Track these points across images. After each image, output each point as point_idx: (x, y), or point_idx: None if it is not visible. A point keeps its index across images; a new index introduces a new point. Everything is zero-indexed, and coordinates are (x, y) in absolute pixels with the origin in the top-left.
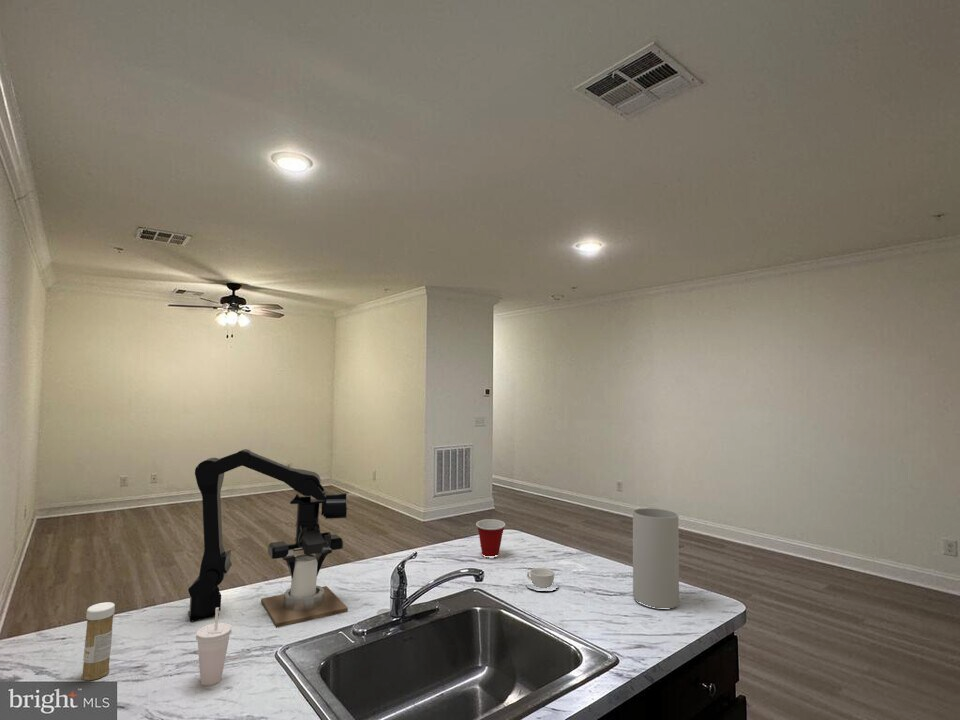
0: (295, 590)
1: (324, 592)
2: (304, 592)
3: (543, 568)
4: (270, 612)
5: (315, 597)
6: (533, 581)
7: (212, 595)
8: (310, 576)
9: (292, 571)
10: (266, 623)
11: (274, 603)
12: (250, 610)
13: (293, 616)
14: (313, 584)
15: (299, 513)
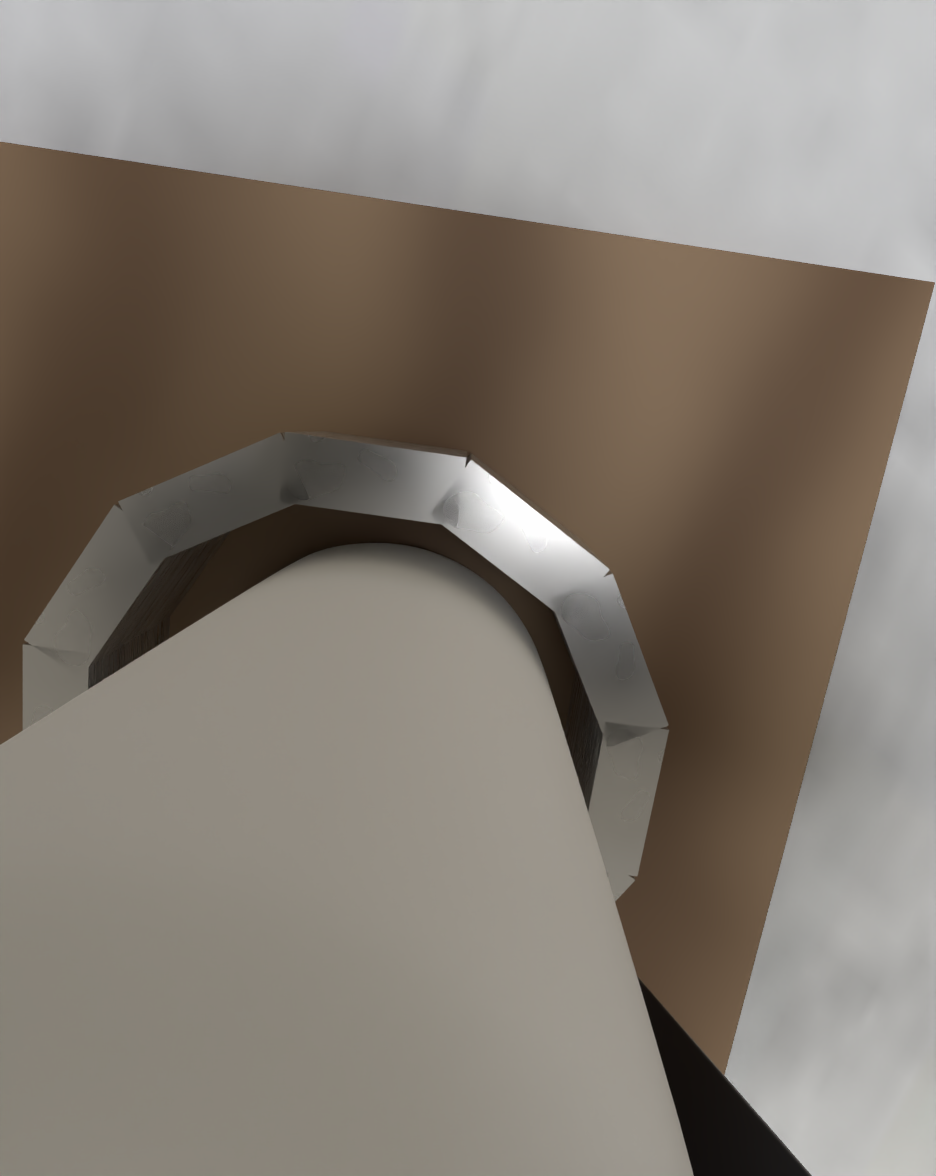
0: (552, 707)
1: None
2: (415, 590)
3: None
4: (820, 676)
5: (269, 437)
6: None
7: None
8: (212, 665)
9: (714, 1104)
10: (917, 503)
11: (661, 898)
12: (876, 946)
13: (656, 360)
14: (194, 624)
15: None
